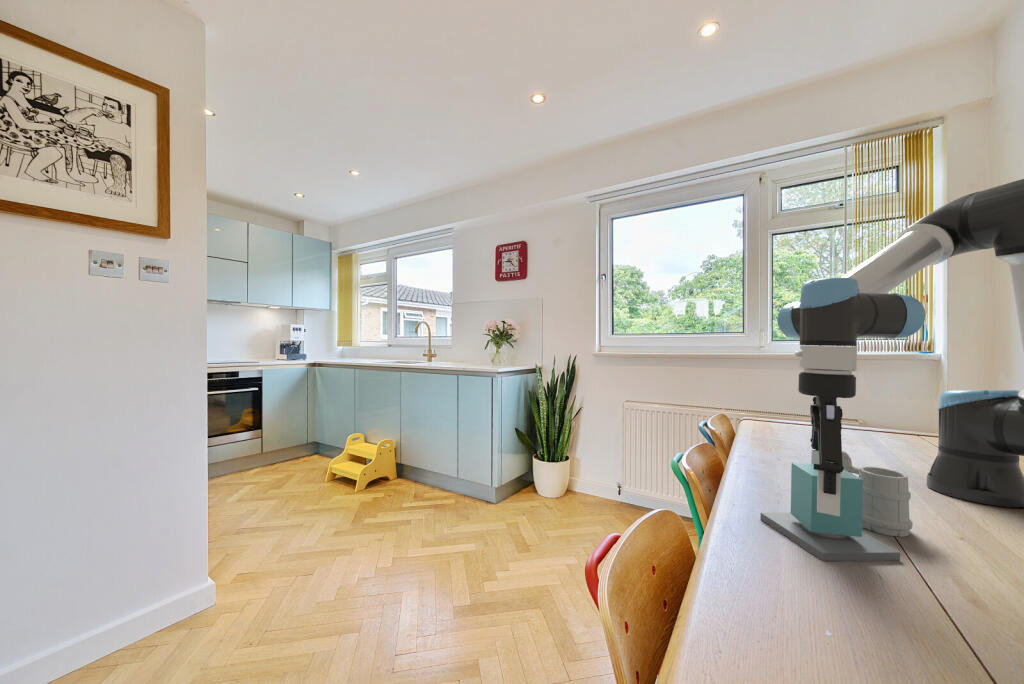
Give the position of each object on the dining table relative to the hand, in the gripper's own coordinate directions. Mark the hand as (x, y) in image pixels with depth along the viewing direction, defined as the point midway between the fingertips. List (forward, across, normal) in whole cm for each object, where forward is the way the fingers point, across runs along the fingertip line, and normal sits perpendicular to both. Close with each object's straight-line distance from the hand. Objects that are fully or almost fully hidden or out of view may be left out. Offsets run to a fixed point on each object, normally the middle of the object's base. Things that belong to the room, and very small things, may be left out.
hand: (823, 499), depth 67 cm
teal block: (+4, 0, 0) cm, 4 cm away
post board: (+6, 0, 0) cm, 6 cm away
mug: (+7, -12, +7) cm, 16 cm away
